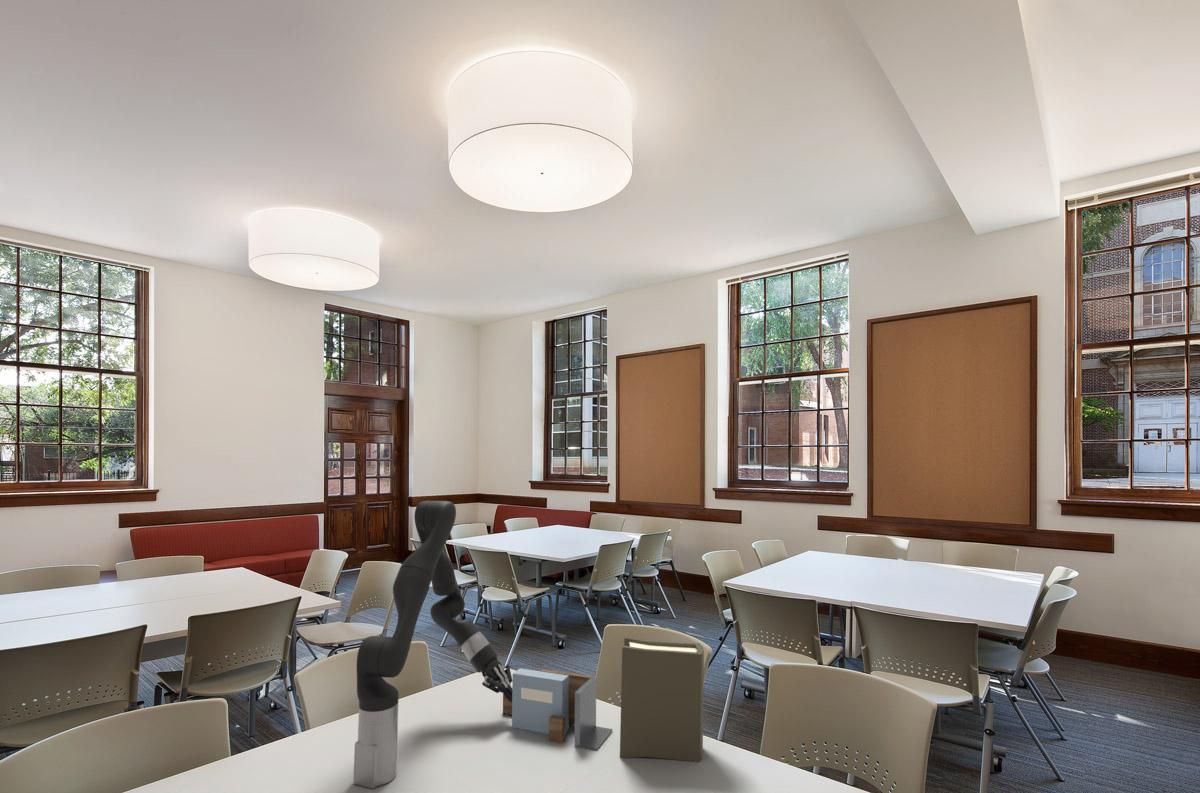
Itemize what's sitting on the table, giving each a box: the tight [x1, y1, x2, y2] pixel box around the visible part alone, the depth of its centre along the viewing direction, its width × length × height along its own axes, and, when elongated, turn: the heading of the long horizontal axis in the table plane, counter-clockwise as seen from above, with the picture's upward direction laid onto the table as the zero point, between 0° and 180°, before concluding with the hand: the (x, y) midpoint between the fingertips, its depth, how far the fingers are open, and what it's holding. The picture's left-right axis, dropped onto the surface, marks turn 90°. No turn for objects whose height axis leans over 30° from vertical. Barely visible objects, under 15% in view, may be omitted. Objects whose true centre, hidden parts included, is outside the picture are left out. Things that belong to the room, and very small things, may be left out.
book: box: [619, 636, 705, 763], centre depth 163 cm, size 22×9×28 cm, turn 84°
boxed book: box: [511, 668, 570, 735], centre depth 176 cm, size 5×16×15 cm, turn 68°
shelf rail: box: [502, 668, 594, 744], centre depth 177 cm, size 12×29×14 cm, turn 69°
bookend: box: [574, 677, 613, 751], centre depth 169 cm, size 12×6×14 cm, turn 159°
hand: (514, 699), depth 179 cm, fingers closed
